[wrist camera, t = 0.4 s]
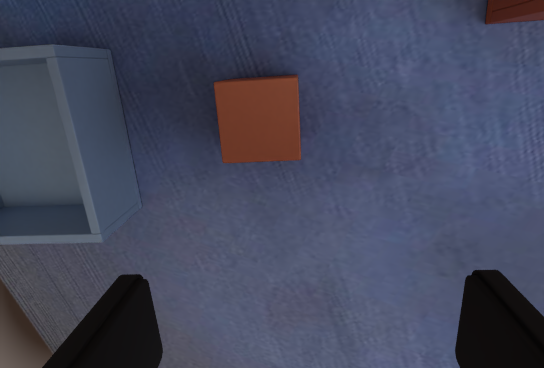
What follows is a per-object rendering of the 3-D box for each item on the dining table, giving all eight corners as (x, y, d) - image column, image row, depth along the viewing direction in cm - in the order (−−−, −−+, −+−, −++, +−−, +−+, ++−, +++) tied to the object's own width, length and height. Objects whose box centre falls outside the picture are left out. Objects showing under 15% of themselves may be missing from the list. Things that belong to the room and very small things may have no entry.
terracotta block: (229, 79, 22) (213, 82, 18) (298, 74, 22) (297, 76, 18) (236, 146, 24) (222, 163, 20) (300, 143, 23) (300, 160, 19)
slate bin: (-45, 60, 23) (-146, 59, 18) (110, 49, 22) (52, 44, 17) (6, 211, 27) (-65, 246, 22) (142, 206, 26) (102, 243, 21)
